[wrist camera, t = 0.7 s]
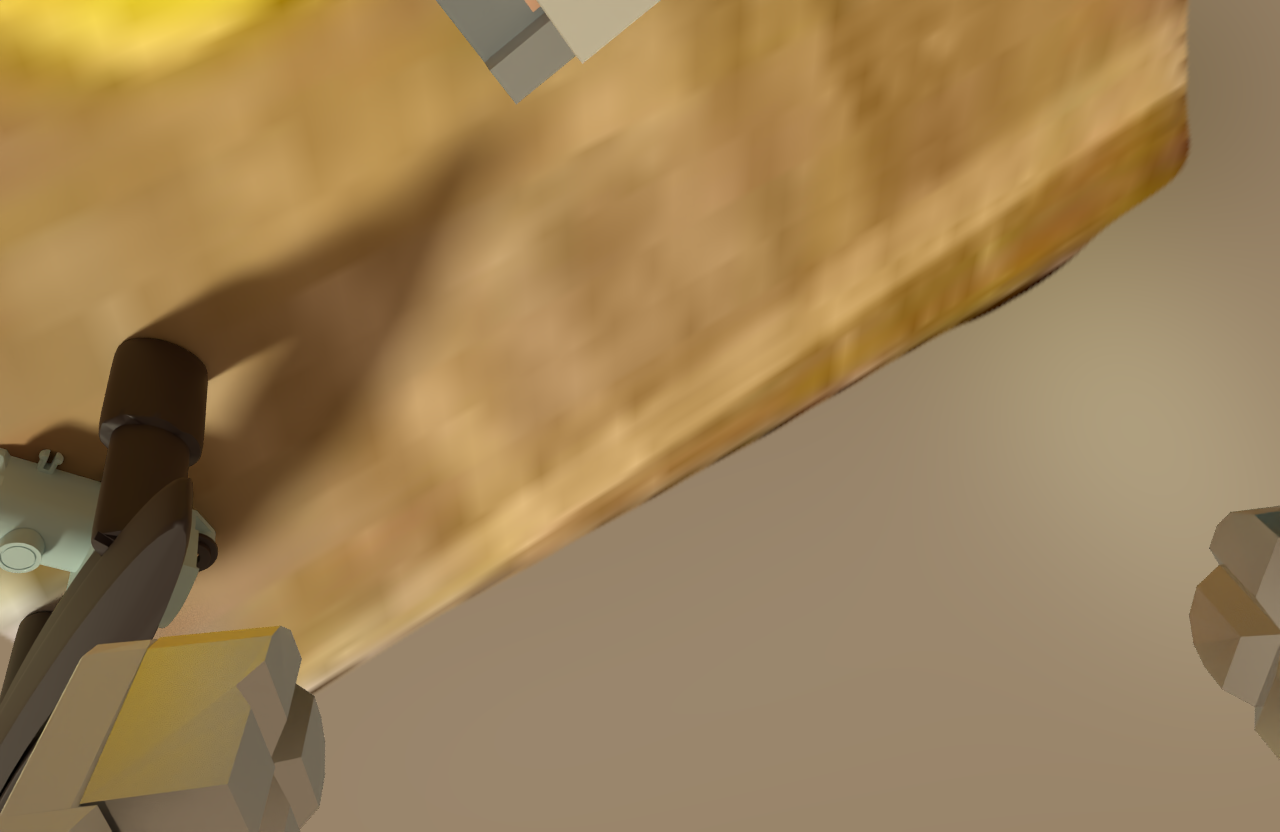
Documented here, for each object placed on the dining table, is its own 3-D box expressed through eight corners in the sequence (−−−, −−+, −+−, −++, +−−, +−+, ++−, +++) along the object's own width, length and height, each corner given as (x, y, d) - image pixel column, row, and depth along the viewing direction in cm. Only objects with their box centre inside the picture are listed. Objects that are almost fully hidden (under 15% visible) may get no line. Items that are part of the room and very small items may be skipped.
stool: (-290, 986, 46) (-38, 472, 35) (-146, 651, 62) (56, 231, 51) (71, 993, 54) (359, 583, 44) (114, 698, 71) (332, 347, 60)
